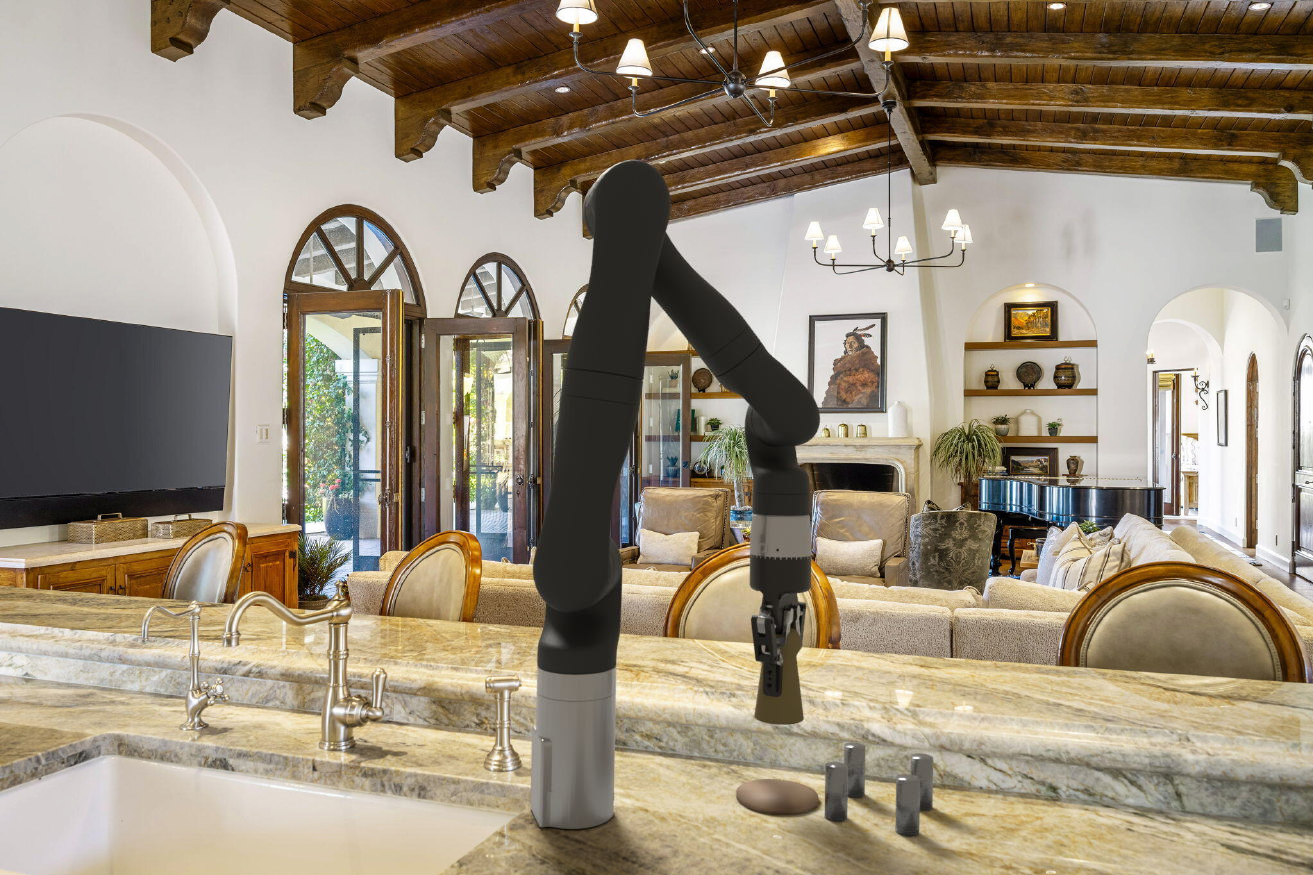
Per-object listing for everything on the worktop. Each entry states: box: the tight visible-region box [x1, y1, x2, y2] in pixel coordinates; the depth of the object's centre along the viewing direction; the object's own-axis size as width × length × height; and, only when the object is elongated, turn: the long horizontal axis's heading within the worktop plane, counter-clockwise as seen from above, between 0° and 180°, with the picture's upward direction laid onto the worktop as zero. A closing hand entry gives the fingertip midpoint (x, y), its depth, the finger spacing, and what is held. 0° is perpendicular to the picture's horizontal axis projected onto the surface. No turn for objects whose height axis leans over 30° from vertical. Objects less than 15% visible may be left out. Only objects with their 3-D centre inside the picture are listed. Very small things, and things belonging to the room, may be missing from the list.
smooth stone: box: [735, 778, 819, 816], centre depth 111 cm, size 10×10×1 cm
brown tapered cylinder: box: [754, 628, 805, 726], centre depth 111 cm, size 6×6×11 cm
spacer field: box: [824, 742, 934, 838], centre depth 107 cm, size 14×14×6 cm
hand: (779, 690), depth 111 cm, fingers closed on brown tapered cylinder, 4 cm apart
